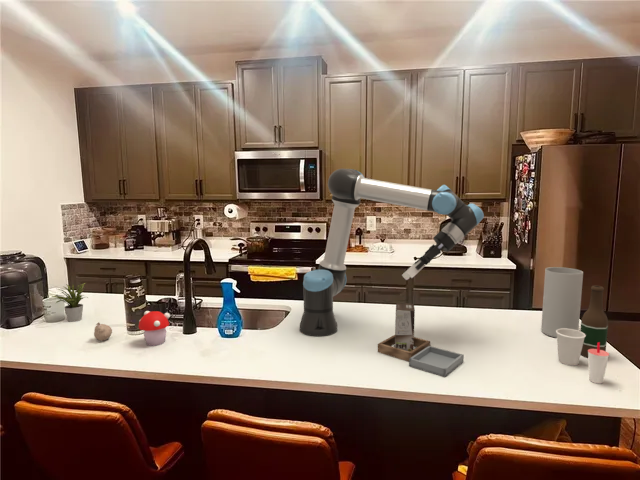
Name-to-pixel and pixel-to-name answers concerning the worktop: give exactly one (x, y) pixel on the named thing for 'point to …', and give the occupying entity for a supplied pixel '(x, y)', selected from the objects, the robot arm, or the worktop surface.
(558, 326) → the cylinder vase
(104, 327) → the garlic bulb
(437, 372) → the tray
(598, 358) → the cup
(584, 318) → the beer bottle
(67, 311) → the house plant
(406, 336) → the coffee box
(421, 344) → the brown square frame
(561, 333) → the dixie cup
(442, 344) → the worktop surface
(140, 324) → the mushroom
